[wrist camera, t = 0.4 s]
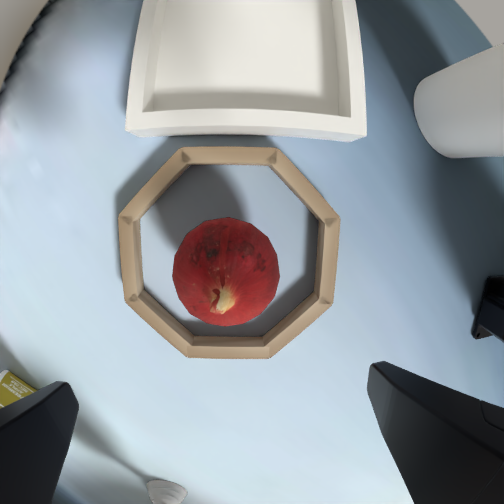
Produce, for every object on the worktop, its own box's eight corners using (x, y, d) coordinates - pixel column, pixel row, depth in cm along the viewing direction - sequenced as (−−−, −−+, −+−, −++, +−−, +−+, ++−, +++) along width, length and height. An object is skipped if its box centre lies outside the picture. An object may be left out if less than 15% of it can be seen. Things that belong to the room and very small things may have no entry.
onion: (177, 221, 19) (139, 244, 11) (263, 205, 19) (281, 218, 11) (195, 303, 21) (174, 367, 13) (277, 289, 21) (299, 348, 13)
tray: (338, -13, 16) (349, -32, 13) (348, 142, 19) (366, 136, 16) (161, -19, 15) (153, -39, 12) (140, 137, 18) (125, 130, 15)
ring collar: (335, 155, 19) (342, 152, 17) (320, 345, 22) (325, 355, 20) (126, 153, 18) (118, 151, 17) (138, 343, 21) (132, 353, 20)
